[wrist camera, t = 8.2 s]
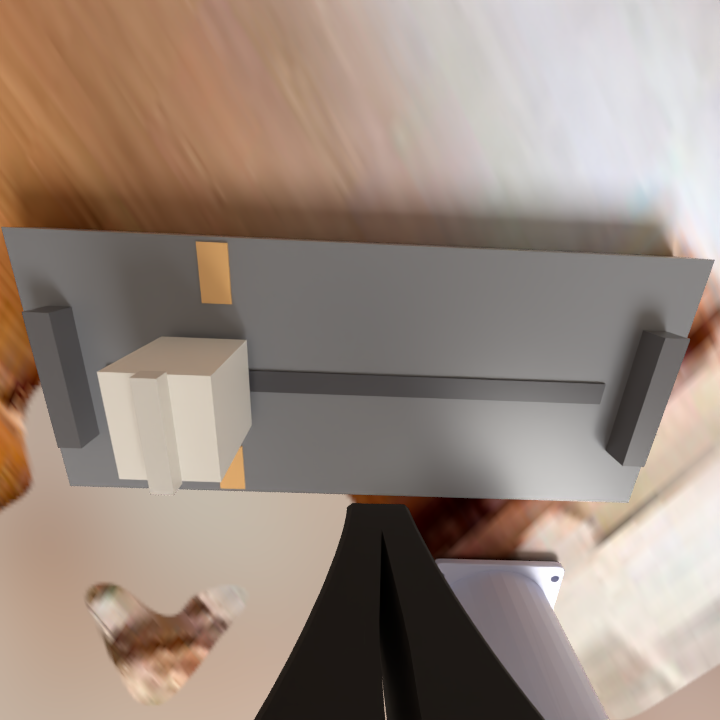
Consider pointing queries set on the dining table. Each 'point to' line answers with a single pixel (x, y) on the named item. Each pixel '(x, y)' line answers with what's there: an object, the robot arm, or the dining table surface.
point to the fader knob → (177, 410)
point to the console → (375, 356)
